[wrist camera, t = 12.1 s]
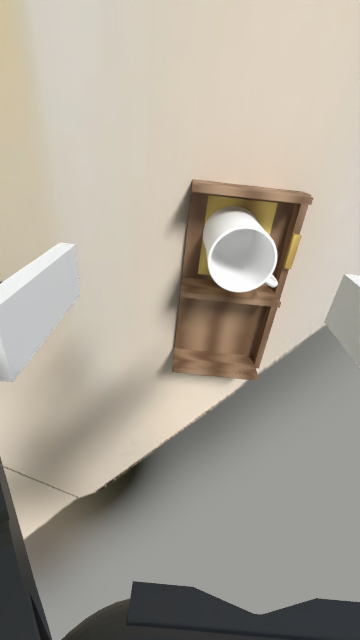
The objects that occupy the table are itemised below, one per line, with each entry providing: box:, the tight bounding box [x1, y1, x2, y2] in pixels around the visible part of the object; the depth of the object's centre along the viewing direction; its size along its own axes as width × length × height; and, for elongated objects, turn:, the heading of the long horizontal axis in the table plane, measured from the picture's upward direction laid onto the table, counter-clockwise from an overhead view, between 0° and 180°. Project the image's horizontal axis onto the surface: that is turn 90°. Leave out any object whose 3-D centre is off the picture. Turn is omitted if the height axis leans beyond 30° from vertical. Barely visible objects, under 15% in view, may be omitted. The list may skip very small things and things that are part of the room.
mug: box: [203, 206, 278, 292], centre depth 40 cm, size 12×8×12 cm
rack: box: [172, 180, 313, 381], centre depth 46 cm, size 16×30×7 cm, turn 174°
